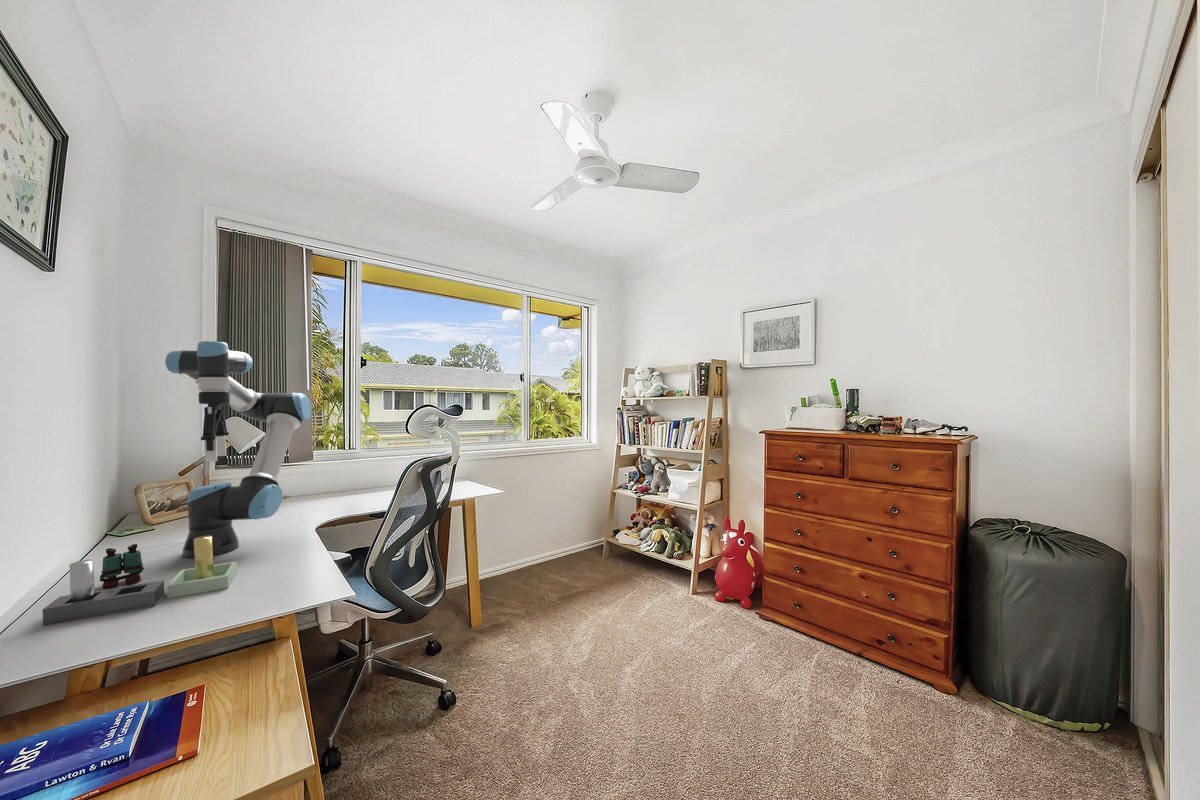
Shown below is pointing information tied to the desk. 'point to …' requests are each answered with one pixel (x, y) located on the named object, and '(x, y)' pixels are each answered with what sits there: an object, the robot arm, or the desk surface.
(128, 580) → the binoculars
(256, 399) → the robot arm
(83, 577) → the pin
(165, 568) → the desk surface
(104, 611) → the bar
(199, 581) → the tray
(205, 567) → the brass pin
